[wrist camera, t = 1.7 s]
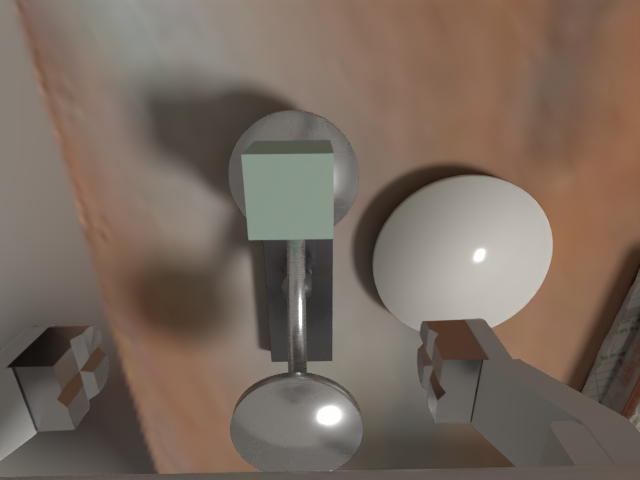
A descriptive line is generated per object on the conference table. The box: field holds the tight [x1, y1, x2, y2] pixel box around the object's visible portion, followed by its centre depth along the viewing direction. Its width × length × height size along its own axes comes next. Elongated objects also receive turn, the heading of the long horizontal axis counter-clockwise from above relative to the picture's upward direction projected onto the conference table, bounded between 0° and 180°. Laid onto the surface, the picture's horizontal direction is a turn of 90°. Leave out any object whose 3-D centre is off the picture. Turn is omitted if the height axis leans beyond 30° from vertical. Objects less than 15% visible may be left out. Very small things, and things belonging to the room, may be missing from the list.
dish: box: [372, 174, 553, 331], centre depth 30 cm, size 13×13×2 cm
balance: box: [228, 110, 363, 472], centre depth 26 cm, size 22×8×10 cm, turn 1°
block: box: [241, 140, 334, 240], centre depth 22 cm, size 4×4×4 cm
